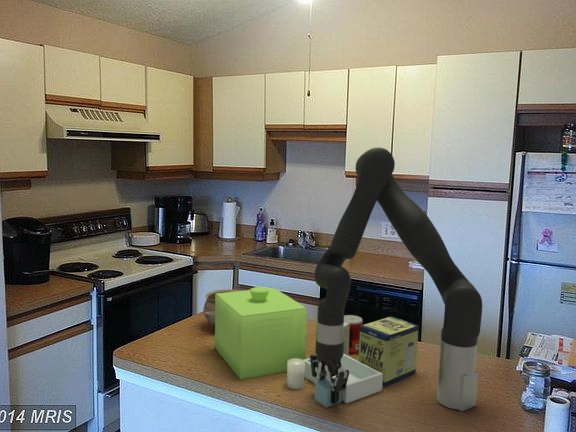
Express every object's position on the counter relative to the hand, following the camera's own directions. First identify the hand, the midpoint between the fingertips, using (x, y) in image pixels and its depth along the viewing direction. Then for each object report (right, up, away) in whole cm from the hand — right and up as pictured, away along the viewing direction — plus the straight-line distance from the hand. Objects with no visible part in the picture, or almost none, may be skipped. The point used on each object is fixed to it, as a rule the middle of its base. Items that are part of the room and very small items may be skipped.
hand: (327, 398), depth 132 cm
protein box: (+20, +1, +17) cm, 26 cm away
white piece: (-9, +1, +9) cm, 12 cm away
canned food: (+10, +3, +35) cm, 37 cm away
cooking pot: (-33, +7, +55) cm, 64 cm away
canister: (-20, +3, +27) cm, 34 cm away
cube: (0, -1, 0) cm, 1 cm away
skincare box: (+6, +2, +26) cm, 27 cm away
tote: (+5, 0, +11) cm, 12 cm away
